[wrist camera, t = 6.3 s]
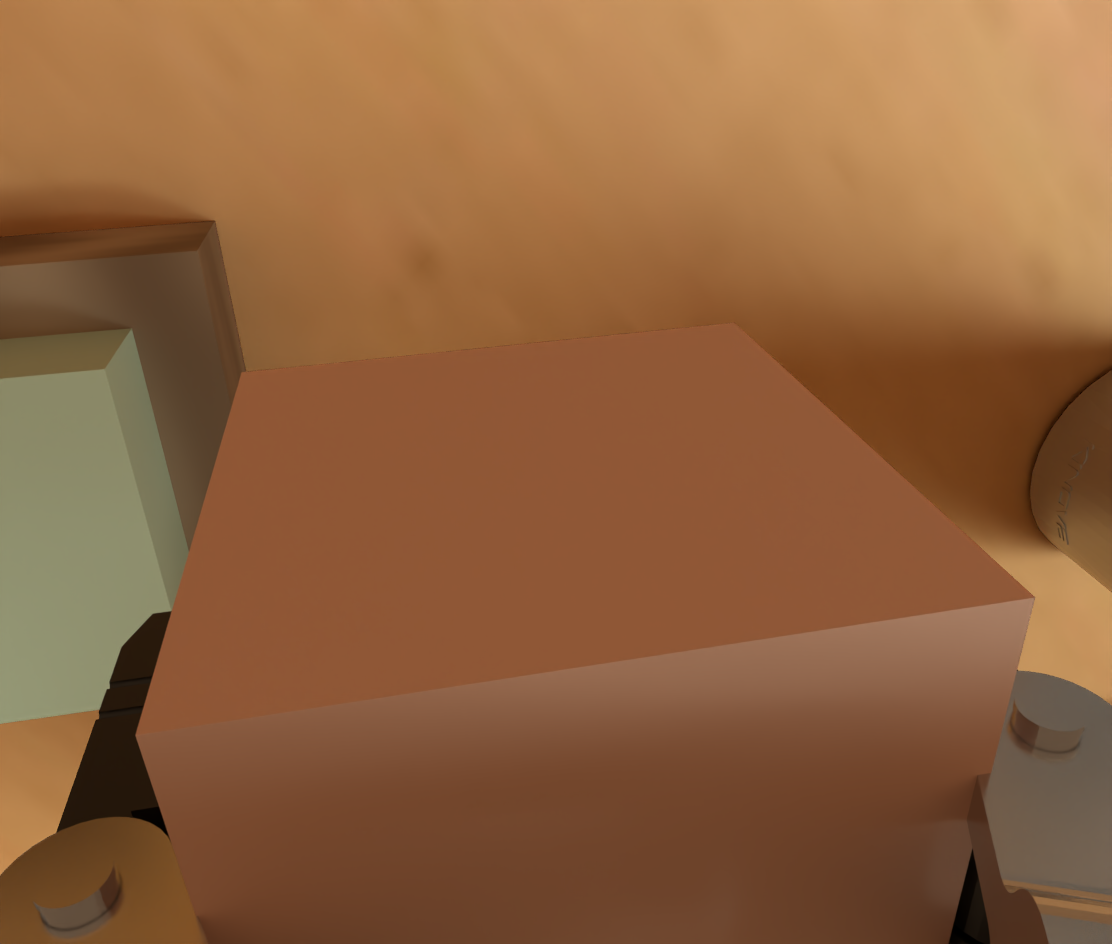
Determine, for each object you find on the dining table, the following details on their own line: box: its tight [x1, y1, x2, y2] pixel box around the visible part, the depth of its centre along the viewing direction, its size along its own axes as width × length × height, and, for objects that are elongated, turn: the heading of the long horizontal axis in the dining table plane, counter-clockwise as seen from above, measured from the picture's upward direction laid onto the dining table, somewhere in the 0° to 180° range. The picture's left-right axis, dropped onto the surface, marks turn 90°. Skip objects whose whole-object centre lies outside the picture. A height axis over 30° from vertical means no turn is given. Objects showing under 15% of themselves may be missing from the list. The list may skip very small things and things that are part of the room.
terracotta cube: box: [135, 323, 1035, 944], centre depth 9 cm, size 6×6×6 cm
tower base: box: [0, 221, 246, 551], centre depth 28 cm, size 14×14×4 cm
